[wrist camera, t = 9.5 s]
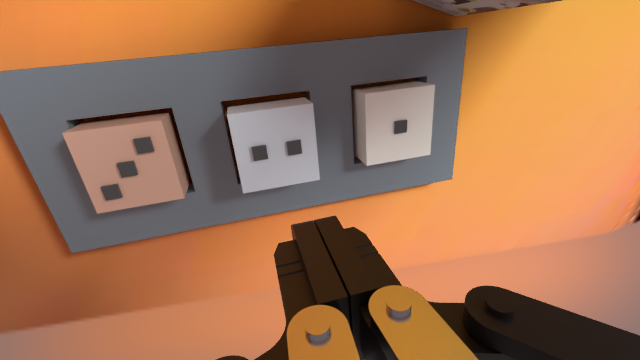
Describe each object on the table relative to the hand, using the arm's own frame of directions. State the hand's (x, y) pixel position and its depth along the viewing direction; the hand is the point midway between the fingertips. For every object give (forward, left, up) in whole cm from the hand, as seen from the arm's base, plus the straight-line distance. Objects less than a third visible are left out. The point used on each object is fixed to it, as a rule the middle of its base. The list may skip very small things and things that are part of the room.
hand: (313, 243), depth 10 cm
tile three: (+9, 0, -14) cm, 17 cm away
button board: (0, 0, -15) cm, 15 cm away
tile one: (-9, 0, -14) cm, 17 cm away
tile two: (0, 0, -13) cm, 13 cm away
